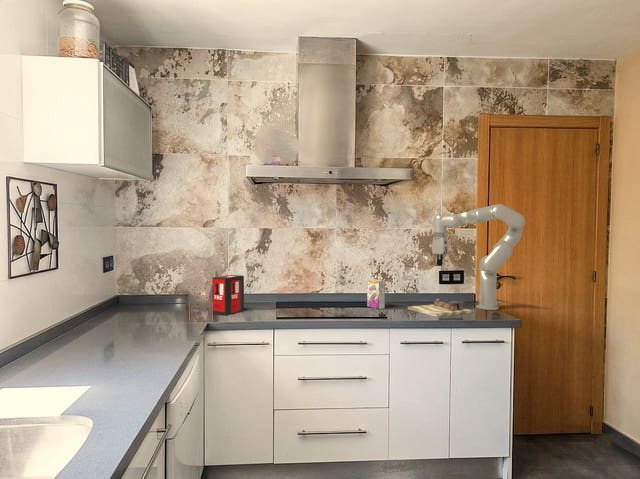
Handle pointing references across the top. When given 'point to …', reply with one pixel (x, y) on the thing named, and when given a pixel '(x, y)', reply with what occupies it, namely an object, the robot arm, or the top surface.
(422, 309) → the birch board
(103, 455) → the top surface
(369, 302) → the candy bar box
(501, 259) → the robot arm
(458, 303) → the block
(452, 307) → the walnut link
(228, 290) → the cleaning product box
